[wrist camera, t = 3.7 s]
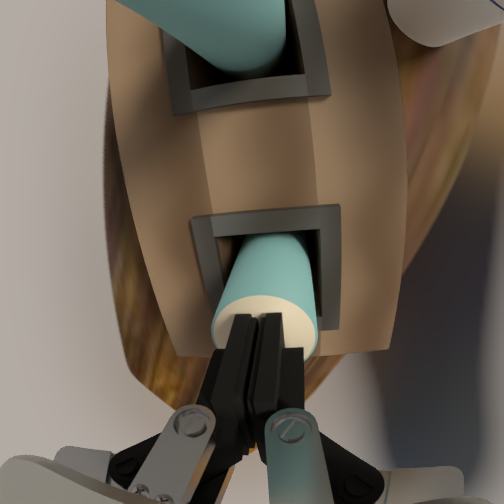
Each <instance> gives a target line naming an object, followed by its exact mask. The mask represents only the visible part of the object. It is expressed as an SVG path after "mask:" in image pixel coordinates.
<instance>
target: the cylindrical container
mask: <svg viewBox="0 0 504 504" xmlns="http://www.w3.org/2000/svg"><path fill="white" fill-rule="evenodd" d="M387 6H388V10H389V14H390V16H391V18H392V20H393V21H394V23H395V24H396V25H397V27H398V28H399V29H400V30H401V31H402V32H403V33H404V34H405V35H406V36H408V37H409V38H411V39H412V40H414V41H415V42H417V43H419V44H422V45H425V46H428V47H440V46H443V45H445V44H448V43H450V42H453V41H455V40H457V39H460V38H462V37H465V36H467V35H470V34H473V33H475V32H478V31H481V30H483V29H486V28H489V27H492V26H495V25H498V24H501V23H504V0H387Z"/></svg>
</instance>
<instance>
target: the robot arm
mask: <svg viewBox="0 0 504 504" xmlns="http://www.w3.org/2000/svg"><path fill="white" fill-rule="evenodd" d="M255 443H257V447H258V450H259V454H260V458H261V461H262V462H263V463H264V464H266V465H267V473H268V487H269V501H270V504H492V503H491V502H490V501H488V500H486V499H482V498H476V497H463V496H464V478H463V474H462V473H461V471H460V470H459V469H457V468H456V467H453V466H440V467H428V468H406V469H392V470H391V471H378V470H377V469H376V468H374V467H373V466H371V465H369V464H368V463H366V462H364V461H363V460H361V459H360V458H358V457H357V456H355V455H353V454H352V453H350V452H349V451H347V450H345V449H344V448H343V447H341V446H340V445H338V444H337V443H335V442H334V441H332V440H331V439H329V438H328V437H326V436H325V435H324V434H322V433H321V432H320V431H319V429H318V425H317V422H316V419H315V418H314V416H313V415H311V414H310V413H309V412H307V411H305V410H304V347H294V348H285V342H284V330H283V318H282V312H277V313H266V317H261V319H260V325H259V327H258V320H257V317H252V315H251V314H235V317H234V320H233V324H232V327H231V331H230V334H229V337H228V341H227V344H226V348H225V349H215V350H214V352H213V354H212V357H211V360H210V363H209V366H208V369H207V372H206V375H205V378H204V381H203V384H202V387H201V390H200V393H199V396H198V399H197V402H196V405H187V406H184V407H182V408H180V409H178V410H177V411H175V412H174V414H173V415H172V416H171V417H170V419H169V421H168V422H167V424H166V426H165V428H164V429H163V431H162V432H161V433H159V434H157V435H155V436H153V437H151V438H149V439H147V440H145V441H142V442H140V443H138V444H136V445H134V446H131V447H129V448H127V449H125V450H123V451H120V452H119V453H117V454H113V453H112V452H111V451H102V450H94V449H86V448H80V447H73V446H65V447H63V448H61V449H60V450H59V451H58V452H57V454H56V456H55V459H54V461H52V460H49V459H47V458H43V457H39V456H33V455H19V456H14V457H12V458H10V459H8V460H7V461H6V462H5V463H4V464H3V465H2V466H1V468H0V504H221V501H222V499H223V496H224V494H225V491H226V489H227V486H228V483H229V481H230V479H231V476H232V474H233V471H234V468H235V464H236V463H238V462H239V461H241V460H242V456H243V455H248V454H249V448H254V447H255Z"/></svg>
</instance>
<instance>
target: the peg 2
mask: <svg viewBox="0 0 504 504" xmlns="http://www.w3.org/2000/svg"><path fill="white" fill-rule="evenodd" d="M277 312H282V318H283V330H284V342H285V348H294V347H304V361H305V360H306V359H307V358H308V357H309V356H310V355H311V354H312V352H313V351H314V349H315V347H316V344H317V340H318V329H317V319H316V310H315V301H314V292H313V284H312V276H311V268H310V260H309V253H308V246H307V239H306V232H305V230H295V231H281V232H268V233H255V234H246V236H245V238H244V241H243V243H242V246H241V248H240V251H239V253H238V256H237V259H236V261H235V264H234V266H233V269H232V271H231V274H230V277H229V279H228V282H227V284H226V287H225V290H224V292H223V295H222V297H221V300H220V302H219V305H218V308H217V310H216V313H215V316H214V318H213V321H212V326H211V334H212V339H213V342H214V344H215V346H216V348H217V349H225V348H226V344H227V341H228V337H229V334H230V331H231V327H232V324H233V320H234V317H235V314H251V315H252V317H257V320H258V327H259V325H260V319H261V317H266V313H277Z"/></svg>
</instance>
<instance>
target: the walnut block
mask: <svg viewBox="0 0 504 504" xmlns="http://www.w3.org/2000/svg"><path fill="white" fill-rule="evenodd" d="M284 5H285V27H286V49H289V53H290V60H291V66H292V72H293V75H287V76H276V77H267V78H258V79H251V80H244V81H237V82H234V80H233V79H231V78H229V77H227V76H226V75H225V74H223V73H222V72H221V71H220V70H218V69H217V68H216V67H214V66H213V65H212V64H211V63H209V62H208V61H207V60H205V59H204V58H203V57H201V56H200V55H199V54H197V53H196V52H195V51H193V50H192V49H190V48H189V47H188V46H186V45H185V44H183V43H182V42H181V41H179V40H178V39H176V38H175V37H173V36H172V35H170V34H169V33H168V32H166V31H165V30H163V29H161V28H160V27H158V26H157V25H155V24H154V23H152V22H151V21H149V20H147V19H146V18H144V17H143V16H141V15H139V14H138V13H136V12H134V11H133V10H131V9H129V8H127V7H126V6H124V5H122V4H120V3H119V2H117V1H115V0H106V35H107V56H108V70H109V81H110V91H111V100H112V108H113V116H114V123H115V130H116V136H117V142H118V148H119V154H120V159H121V165H122V170H123V175H124V180H125V185H126V189H127V194H128V198H129V203H130V207H131V211H132V215H133V219H134V223H135V227H136V231H137V235H138V239H139V242H140V246H141V250H142V253H143V257H144V260H145V264H146V267H147V270H148V274H149V277H150V280H151V283H152V287H153V290H154V293H155V296H156V299H157V302H158V305H159V308H160V311H161V314H162V316H163V319H164V322H165V325H166V328H167V330H168V333H169V336H170V339H171V341H172V344H173V346H174V349H175V352H176V354H177V356H185V357H206V358H211V357H212V354H213V352H214V350H215V349H217V348H216V346H215V344H214V342H213V339H212V334H211V326H212V321H213V318H214V316H215V313H216V310H217V308H218V305H219V302H220V300H221V297H222V295H223V292H224V290H225V287H226V284H227V282H228V279H229V277H230V274H231V271H232V269H233V266H234V264H235V261H236V259H237V256H238V253H239V251H240V248H241V246H242V243H243V241H244V238H245V236H246V234H255V233H268V232H281V231H295V230H309V234H306V239H307V246H308V253H309V260H310V268H311V276H312V284H313V292H314V301H315V310H316V319H317V329H318V340H317V344H316V347H315V349H314V351H313V352H312V354H311V355H310V356H325V355H338V354H349V353H358V352H368V351H376V350H384V349H389V344H390V340H391V335H392V330H393V325H394V320H395V314H396V308H397V302H398V296H399V289H400V282H401V274H402V265H403V256H404V245H405V232H406V214H407V149H406V131H405V118H404V108H403V99H402V91H401V83H400V77H399V70H398V64H397V59H396V53H395V48H394V43H393V39H392V34H391V30H390V26H389V22H388V18H387V14H386V10H385V7H384V3H383V0H284ZM310 356H309V357H310Z"/></svg>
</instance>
